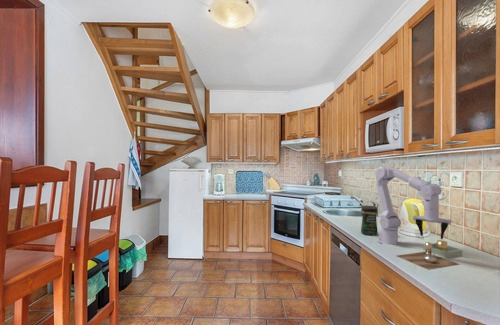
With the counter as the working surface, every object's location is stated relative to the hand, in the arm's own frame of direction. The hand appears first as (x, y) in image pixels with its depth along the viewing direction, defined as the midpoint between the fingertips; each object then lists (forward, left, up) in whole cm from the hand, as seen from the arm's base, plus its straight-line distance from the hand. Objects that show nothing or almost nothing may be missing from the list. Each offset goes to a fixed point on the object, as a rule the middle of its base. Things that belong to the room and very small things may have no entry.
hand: (431, 237), depth 114 cm
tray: (-3, +11, -10) cm, 15 cm away
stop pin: (-3, +11, -10) cm, 15 cm away
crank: (+2, -4, -9) cm, 10 cm away
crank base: (+2, -6, -10) cm, 12 cm away
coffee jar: (-42, +2, -11) cm, 43 cm away
